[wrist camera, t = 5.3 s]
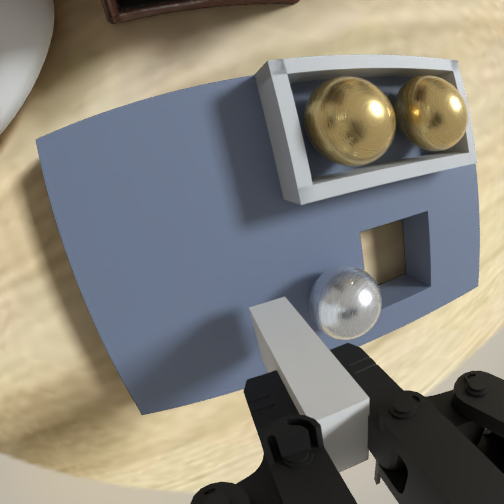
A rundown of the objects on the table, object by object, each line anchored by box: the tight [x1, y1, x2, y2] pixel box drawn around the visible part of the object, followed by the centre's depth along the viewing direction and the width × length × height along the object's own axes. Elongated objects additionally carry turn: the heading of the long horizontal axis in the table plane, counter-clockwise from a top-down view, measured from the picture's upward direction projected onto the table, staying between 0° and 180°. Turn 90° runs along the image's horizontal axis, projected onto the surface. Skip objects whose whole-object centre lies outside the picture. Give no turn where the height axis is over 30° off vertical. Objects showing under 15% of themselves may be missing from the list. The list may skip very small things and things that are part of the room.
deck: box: [36, 55, 480, 415], centre depth 14 cm, size 22×14×4 cm, turn 104°
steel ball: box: [309, 266, 382, 340], centre depth 14 cm, size 3×3×3 cm
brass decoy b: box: [394, 75, 468, 151], centre depth 12 cm, size 4×4×4 cm
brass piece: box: [304, 76, 396, 166], centre depth 11 cm, size 4×4×4 cm
